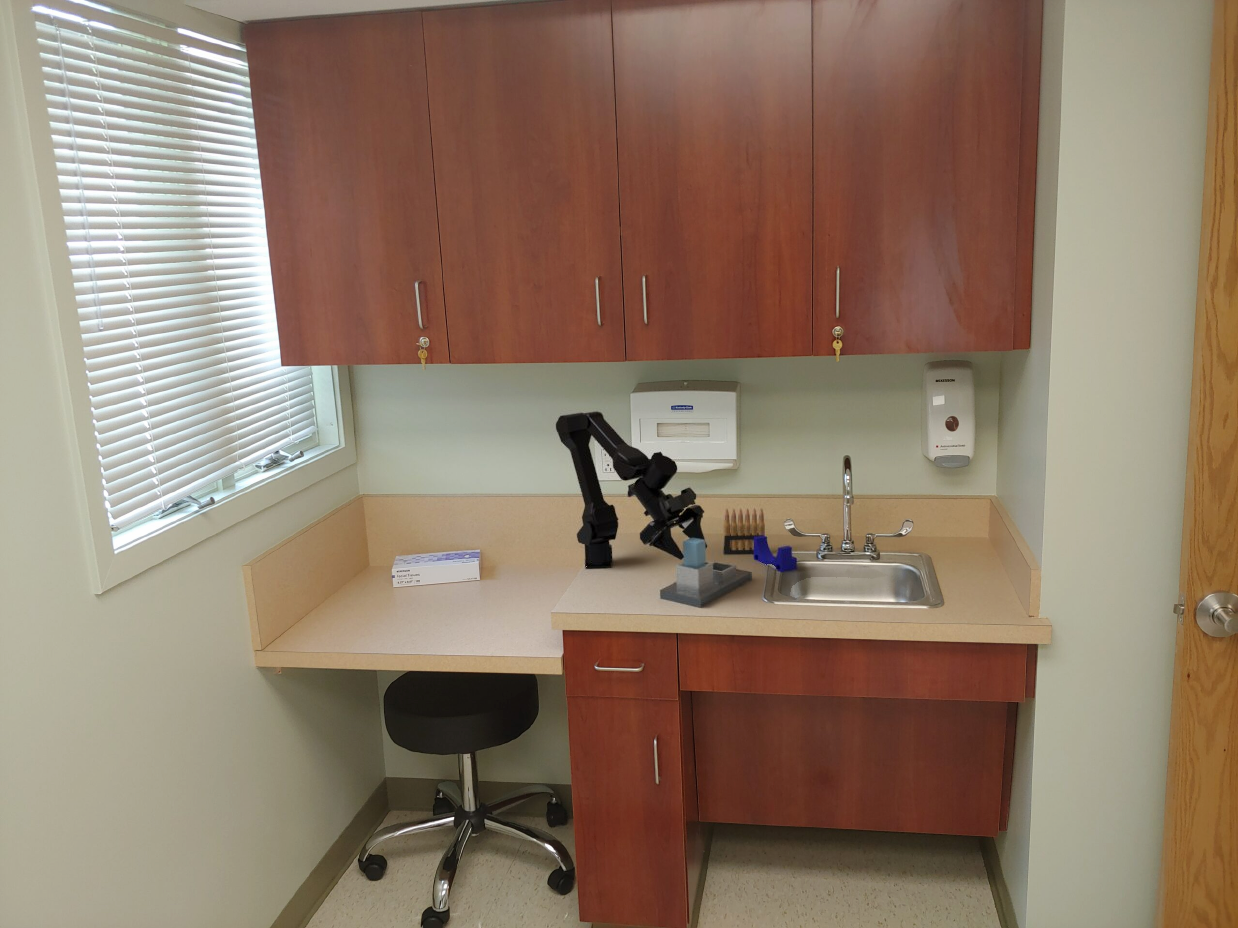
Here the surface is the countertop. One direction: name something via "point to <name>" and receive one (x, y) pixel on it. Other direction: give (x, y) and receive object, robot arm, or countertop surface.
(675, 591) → the grey peg holder base
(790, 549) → the cable clip
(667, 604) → the countertop surface
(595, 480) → the robot arm
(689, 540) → the plug
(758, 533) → the ammunition clip
